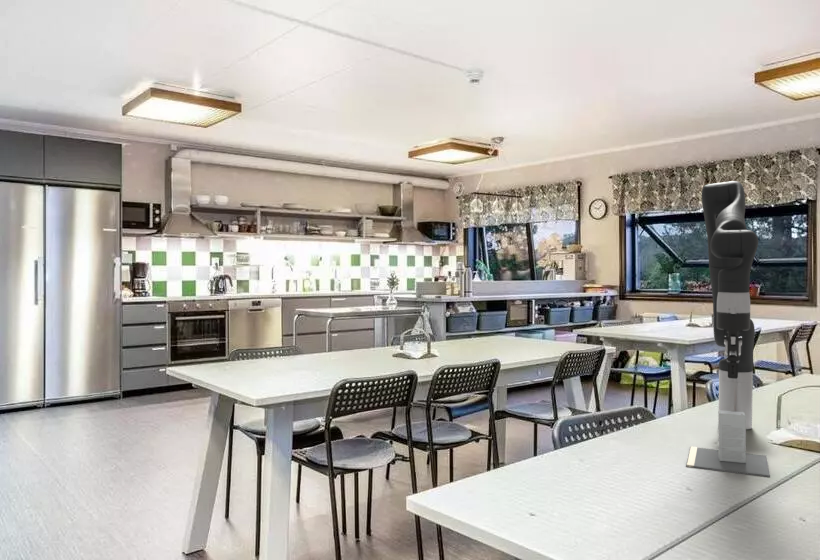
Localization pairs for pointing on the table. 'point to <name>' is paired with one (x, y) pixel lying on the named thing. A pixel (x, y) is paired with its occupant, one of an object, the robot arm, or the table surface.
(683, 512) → the table surface
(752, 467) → the mat
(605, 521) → the table surface
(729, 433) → the skincare box
